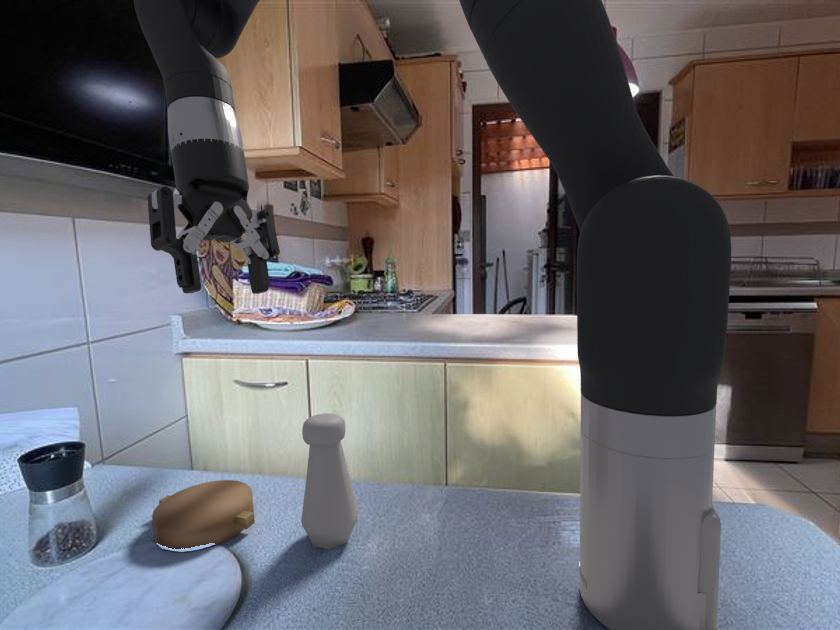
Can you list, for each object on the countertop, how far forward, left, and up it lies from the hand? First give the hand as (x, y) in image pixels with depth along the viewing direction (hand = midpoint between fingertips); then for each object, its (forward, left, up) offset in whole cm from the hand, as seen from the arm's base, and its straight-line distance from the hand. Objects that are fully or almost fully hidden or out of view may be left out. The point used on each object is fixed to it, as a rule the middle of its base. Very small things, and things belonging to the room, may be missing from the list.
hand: (229, 292), depth 48 cm
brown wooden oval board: (+3, +4, -26) cm, 26 cm away
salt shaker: (-12, +2, -26) cm, 29 cm away
